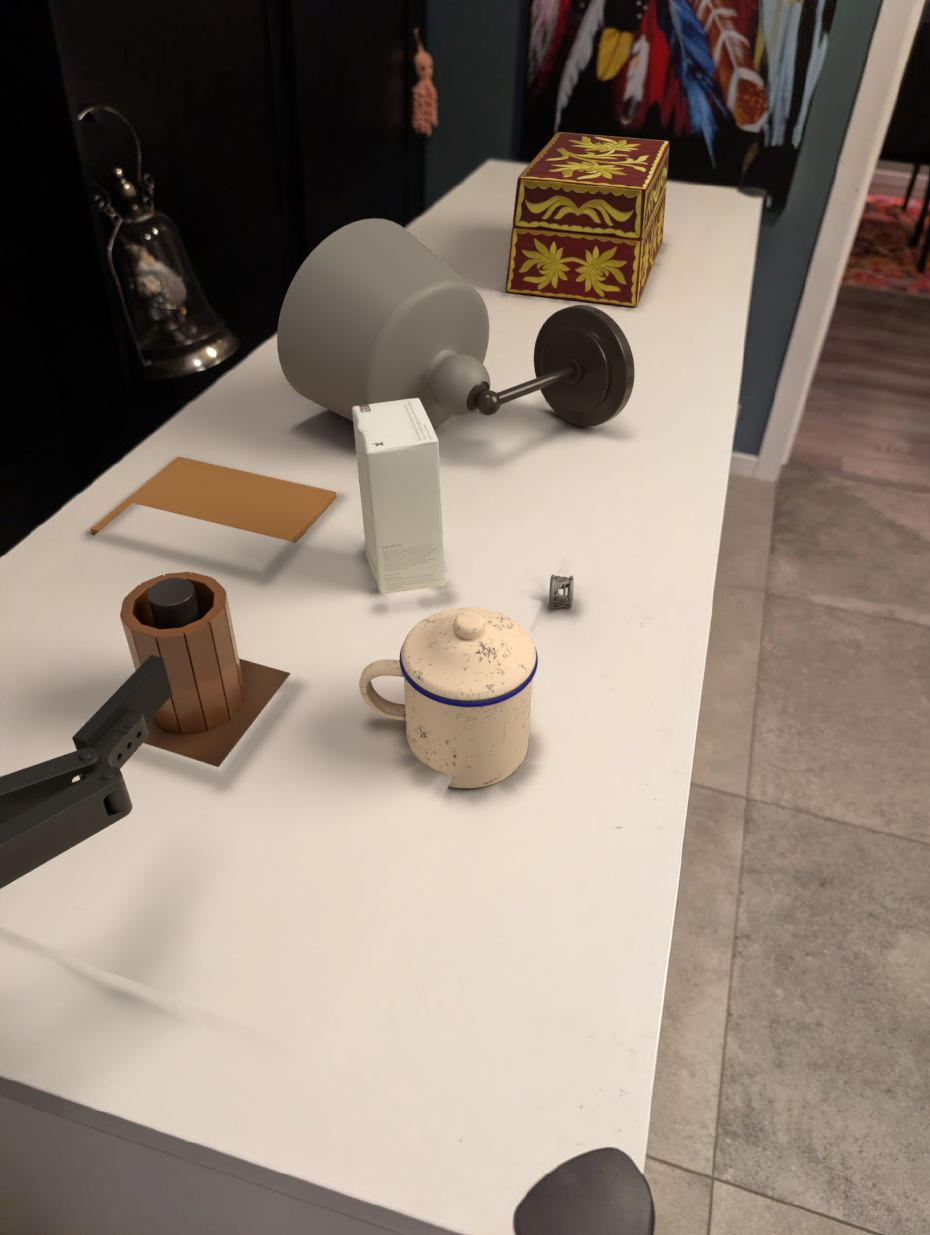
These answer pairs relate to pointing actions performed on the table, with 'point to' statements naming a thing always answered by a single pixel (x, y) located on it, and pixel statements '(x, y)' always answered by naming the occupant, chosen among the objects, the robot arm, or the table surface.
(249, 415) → the table surface
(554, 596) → the decorative ring
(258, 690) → the ring holder
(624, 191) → the decorative box
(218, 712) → the brown wooden cylinder
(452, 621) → the teacup with lid
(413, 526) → the cosmetic box
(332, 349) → the light fixture
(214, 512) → the wooden board
